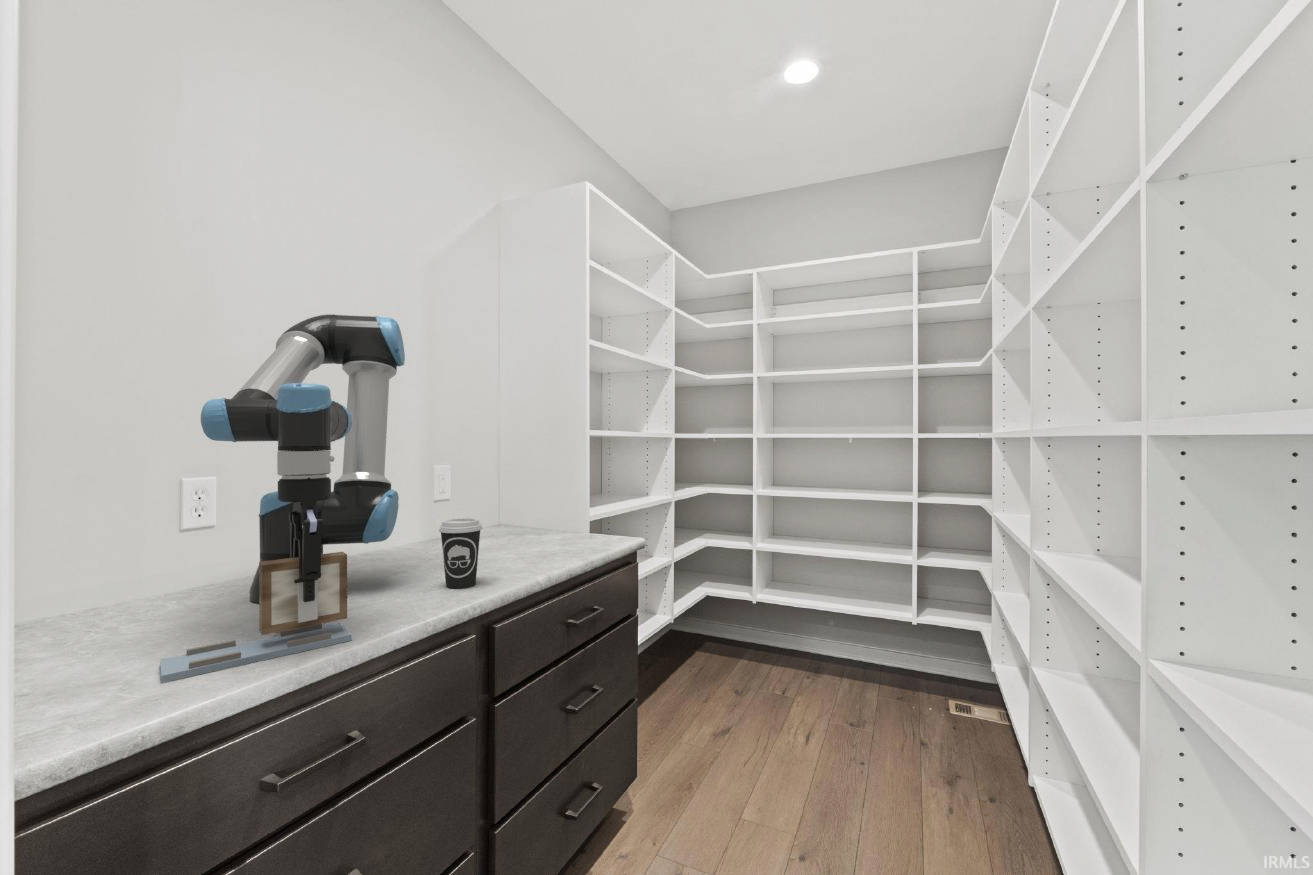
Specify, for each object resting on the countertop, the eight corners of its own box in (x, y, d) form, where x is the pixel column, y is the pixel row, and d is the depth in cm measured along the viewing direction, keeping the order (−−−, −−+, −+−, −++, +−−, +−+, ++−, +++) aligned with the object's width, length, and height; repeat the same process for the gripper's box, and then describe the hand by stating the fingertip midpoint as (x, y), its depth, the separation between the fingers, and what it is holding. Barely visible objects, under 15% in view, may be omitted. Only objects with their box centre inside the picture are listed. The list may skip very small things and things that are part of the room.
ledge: (160, 665, 84) (160, 653, 84) (339, 628, 100) (339, 618, 100) (161, 682, 78) (161, 670, 78) (351, 640, 94) (351, 629, 94)
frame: (262, 635, 87) (262, 565, 87) (259, 630, 90) (259, 561, 90) (347, 618, 96) (347, 554, 96) (342, 614, 98) (342, 551, 98)
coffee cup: (491, 583, 130) (491, 519, 130) (457, 593, 122) (456, 524, 122) (464, 578, 136) (464, 516, 136) (429, 587, 128) (429, 521, 128)
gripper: (342, 478, 89) (343, 624, 89) (319, 473, 101) (319, 602, 101) (287, 480, 84) (287, 635, 84) (269, 475, 96) (270, 611, 96)
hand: (305, 617), depth 93 cm, fingers closed on frame, 3 cm apart
